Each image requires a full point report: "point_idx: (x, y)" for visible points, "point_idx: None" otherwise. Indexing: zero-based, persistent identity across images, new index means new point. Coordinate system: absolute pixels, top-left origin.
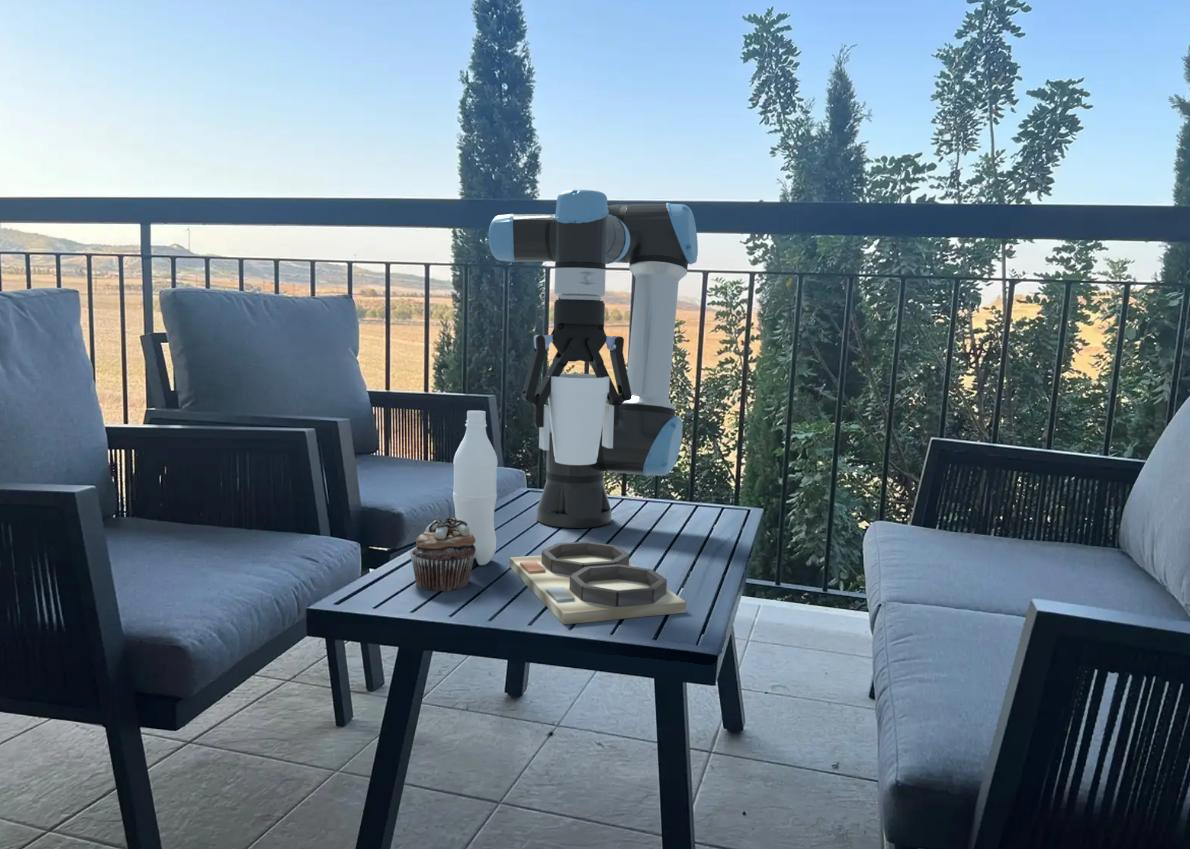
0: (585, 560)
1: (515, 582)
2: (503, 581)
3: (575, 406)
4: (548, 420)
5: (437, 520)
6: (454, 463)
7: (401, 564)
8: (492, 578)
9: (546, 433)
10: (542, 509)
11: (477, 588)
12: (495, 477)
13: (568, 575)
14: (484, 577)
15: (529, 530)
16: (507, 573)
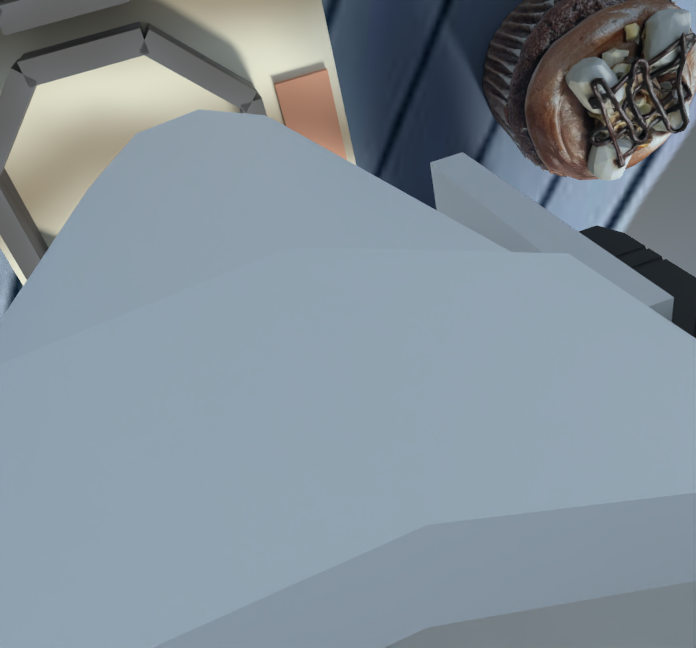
0: None
1: (355, 73)
2: (388, 83)
3: (364, 211)
4: (550, 244)
5: (683, 104)
6: None
7: (615, 224)
8: (416, 112)
9: (506, 198)
10: None
11: (465, 10)
12: None
13: (195, 48)
14: (436, 121)
15: None
16: (373, 162)
